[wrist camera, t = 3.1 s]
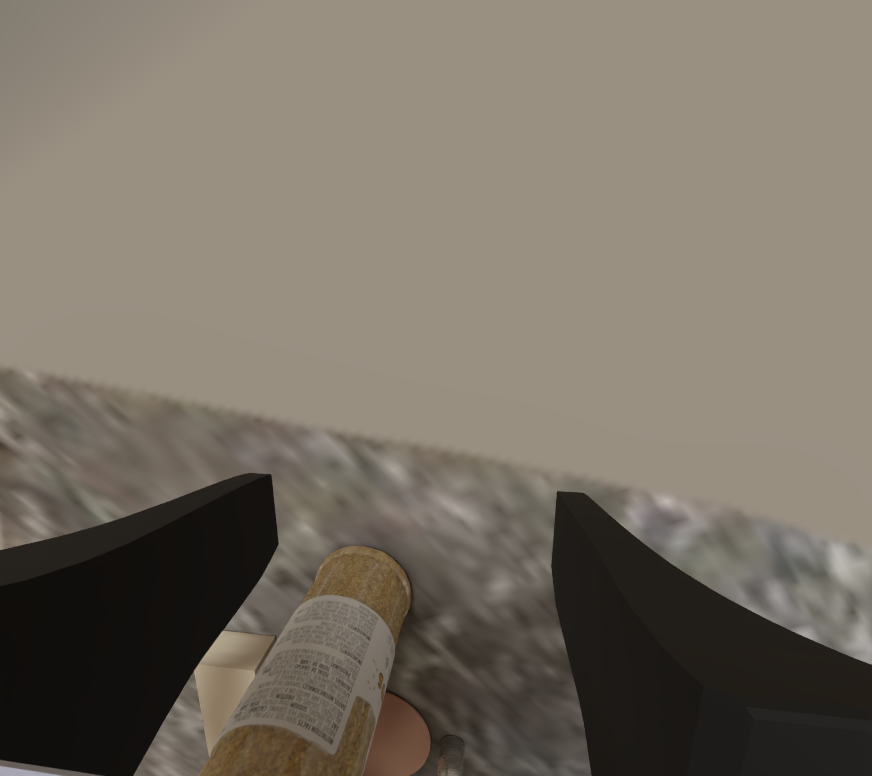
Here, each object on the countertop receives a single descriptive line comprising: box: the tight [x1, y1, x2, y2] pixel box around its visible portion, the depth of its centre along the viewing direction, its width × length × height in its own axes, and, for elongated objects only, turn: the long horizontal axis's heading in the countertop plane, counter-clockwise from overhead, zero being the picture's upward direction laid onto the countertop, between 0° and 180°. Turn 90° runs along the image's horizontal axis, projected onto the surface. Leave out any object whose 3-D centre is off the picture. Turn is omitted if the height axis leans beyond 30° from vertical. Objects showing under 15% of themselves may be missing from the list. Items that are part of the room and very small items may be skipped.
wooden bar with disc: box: [194, 631, 431, 776], centre depth 22 cm, size 11×11×2 cm
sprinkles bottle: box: [199, 545, 411, 776], centre depth 14 cm, size 5×5×13 cm
